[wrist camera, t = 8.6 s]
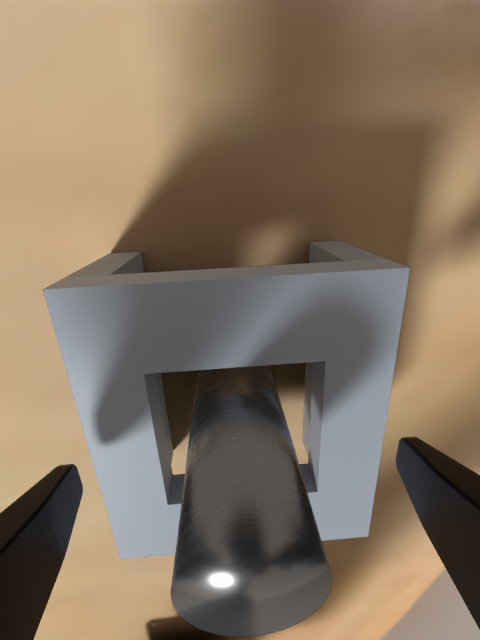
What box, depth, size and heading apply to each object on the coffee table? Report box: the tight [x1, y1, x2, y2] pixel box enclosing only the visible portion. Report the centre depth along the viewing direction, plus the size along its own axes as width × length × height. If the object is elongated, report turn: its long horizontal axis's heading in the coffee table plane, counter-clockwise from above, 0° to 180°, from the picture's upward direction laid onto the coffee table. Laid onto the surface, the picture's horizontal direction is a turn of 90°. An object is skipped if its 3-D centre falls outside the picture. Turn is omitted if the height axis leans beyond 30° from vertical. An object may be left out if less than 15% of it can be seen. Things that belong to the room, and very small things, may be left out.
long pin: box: [171, 365, 332, 637], centre depth 10 cm, size 3×3×9 cm
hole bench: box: [43, 240, 410, 559], centre depth 12 cm, size 10×9×5 cm
